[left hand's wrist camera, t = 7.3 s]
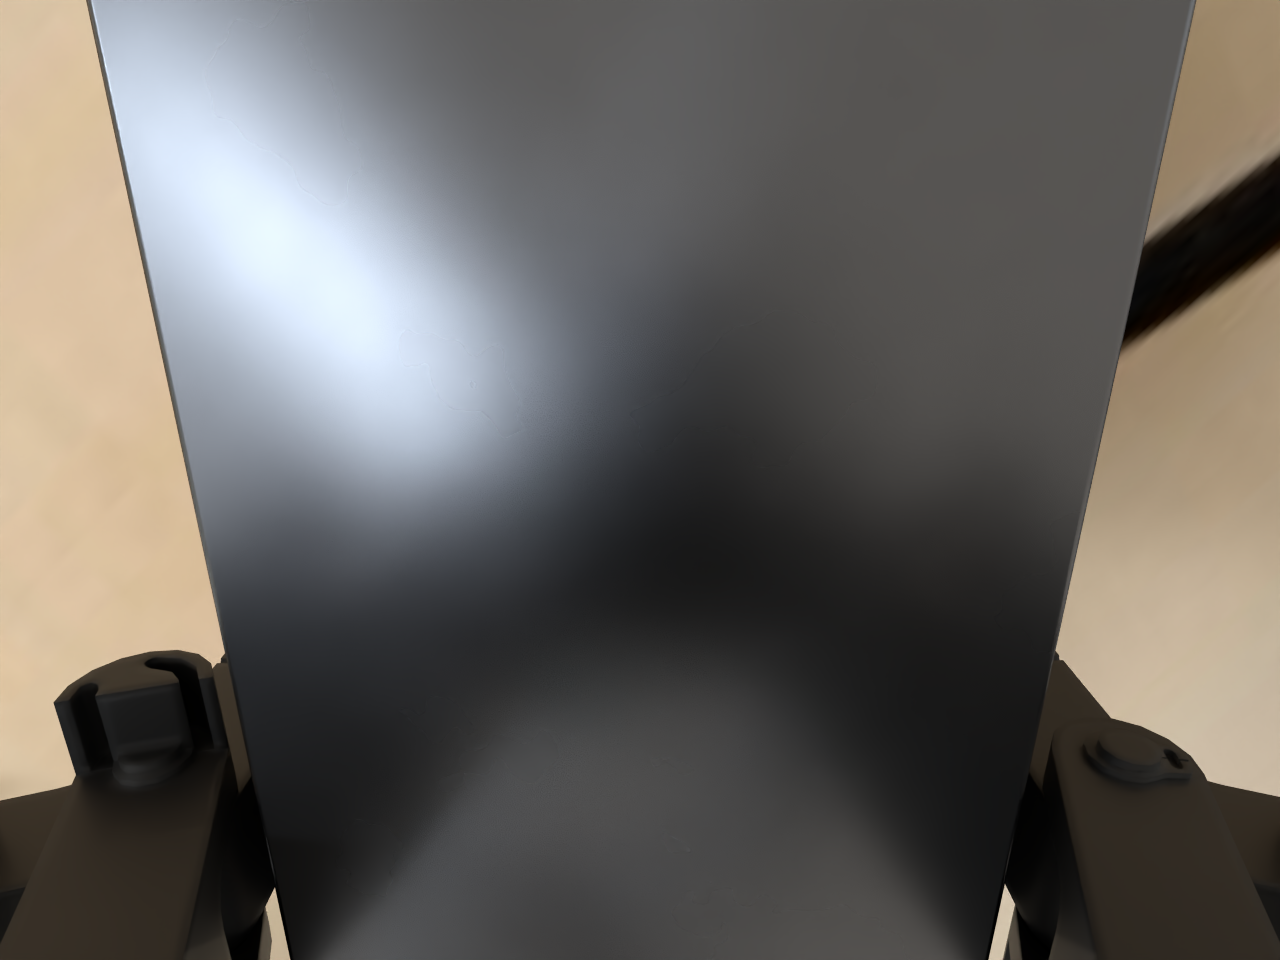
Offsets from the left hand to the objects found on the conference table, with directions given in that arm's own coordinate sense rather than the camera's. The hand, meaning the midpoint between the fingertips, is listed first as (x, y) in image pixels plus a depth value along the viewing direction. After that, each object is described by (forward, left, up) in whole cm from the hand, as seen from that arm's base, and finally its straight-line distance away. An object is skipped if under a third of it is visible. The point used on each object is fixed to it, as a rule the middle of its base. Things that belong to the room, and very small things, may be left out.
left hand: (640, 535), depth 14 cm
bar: (+10, 0, -1) cm, 10 cm away
